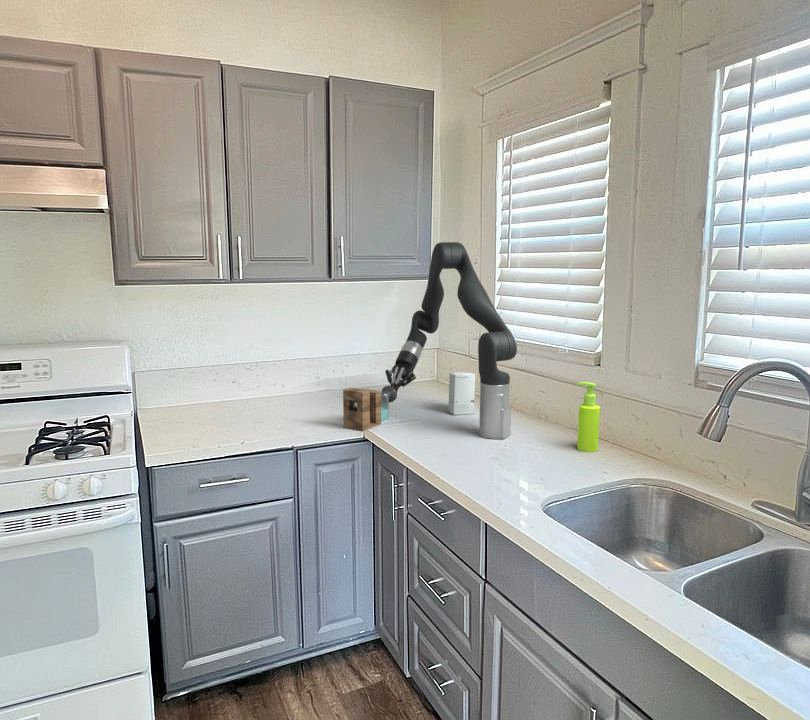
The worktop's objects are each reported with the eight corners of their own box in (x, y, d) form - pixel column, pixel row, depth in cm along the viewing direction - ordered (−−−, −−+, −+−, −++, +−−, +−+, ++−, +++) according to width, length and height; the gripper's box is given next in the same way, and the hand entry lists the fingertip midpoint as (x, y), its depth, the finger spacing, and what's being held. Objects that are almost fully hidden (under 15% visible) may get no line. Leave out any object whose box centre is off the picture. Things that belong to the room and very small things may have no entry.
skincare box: (453, 415, 219) (454, 375, 217) (447, 411, 225) (448, 372, 222) (475, 413, 222) (475, 373, 219) (468, 410, 227) (469, 371, 225)
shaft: (397, 414, 218) (397, 386, 216) (362, 427, 201) (362, 397, 199) (383, 412, 221) (383, 384, 220) (348, 425, 204) (347, 395, 202)
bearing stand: (381, 424, 208) (380, 386, 206) (362, 431, 199) (362, 392, 197) (362, 420, 212) (362, 384, 210) (343, 427, 204) (343, 389, 202)
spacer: (388, 420, 214) (388, 409, 213) (378, 423, 209) (378, 412, 208) (376, 418, 217) (376, 407, 216) (366, 421, 212) (366, 410, 211)
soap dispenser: (578, 444, 186) (581, 379, 182) (600, 448, 181) (604, 382, 178) (570, 448, 181) (573, 383, 178) (593, 453, 177) (596, 386, 174)
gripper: (390, 348, 228) (371, 386, 220) (420, 351, 221) (402, 390, 213) (398, 360, 233) (380, 397, 225) (428, 363, 226) (410, 402, 218)
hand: (391, 394), depth 219 cm, fingers closed
